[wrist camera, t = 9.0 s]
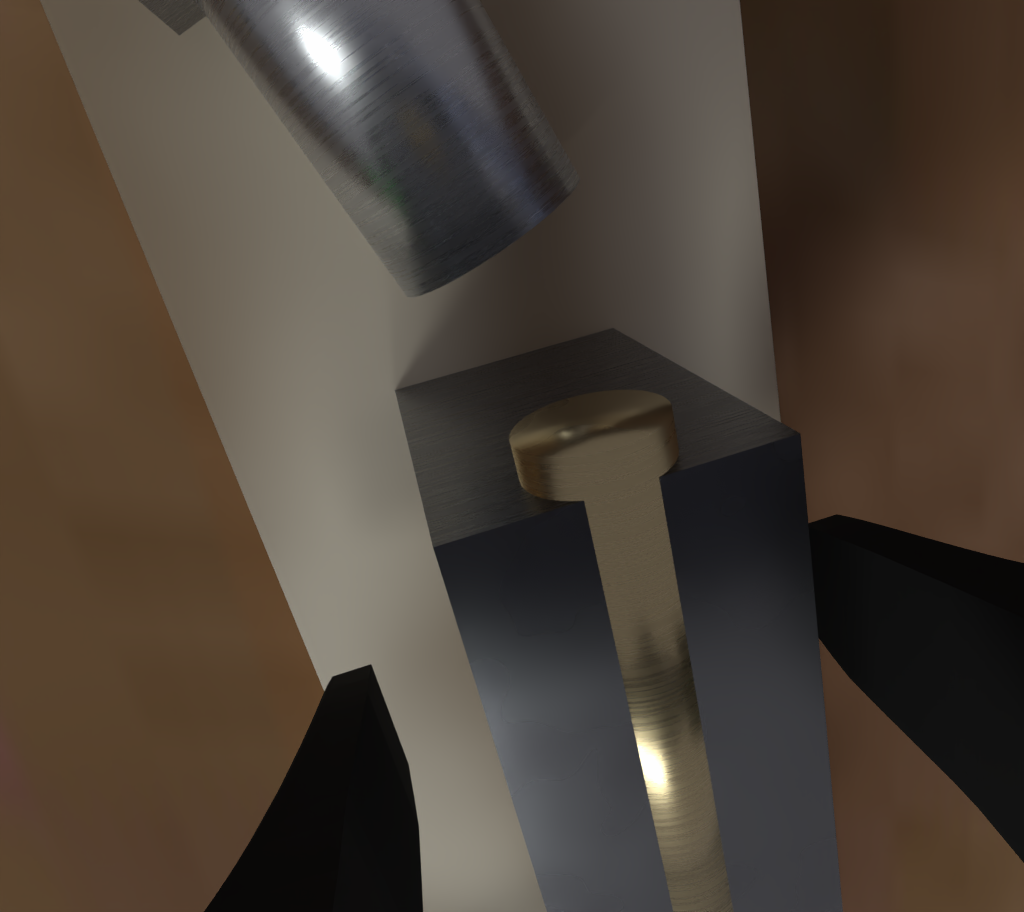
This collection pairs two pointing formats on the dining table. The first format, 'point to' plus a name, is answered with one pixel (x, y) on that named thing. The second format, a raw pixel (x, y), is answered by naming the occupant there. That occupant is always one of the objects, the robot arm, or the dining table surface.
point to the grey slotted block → (636, 625)
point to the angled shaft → (402, 121)
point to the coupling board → (426, 328)
